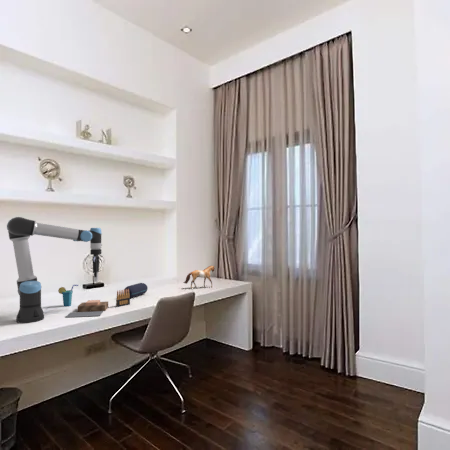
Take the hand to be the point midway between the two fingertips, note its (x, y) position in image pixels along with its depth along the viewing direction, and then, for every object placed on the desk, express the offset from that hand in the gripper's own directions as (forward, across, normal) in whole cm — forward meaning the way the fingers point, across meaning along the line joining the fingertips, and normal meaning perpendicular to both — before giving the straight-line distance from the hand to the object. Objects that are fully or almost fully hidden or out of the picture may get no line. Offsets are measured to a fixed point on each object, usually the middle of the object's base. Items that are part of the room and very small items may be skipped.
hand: (96, 281), depth 247 cm
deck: (+18, -9, 0) cm, 21 cm away
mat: (+18, -23, +2) cm, 30 cm away
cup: (+19, +8, +21) cm, 29 cm away
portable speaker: (+19, +35, -25) cm, 47 cm away
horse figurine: (+19, +66, -81) cm, 106 cm away
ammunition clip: (+19, 0, -19) cm, 27 cm away
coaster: (+14, -10, 0) cm, 18 cm away
